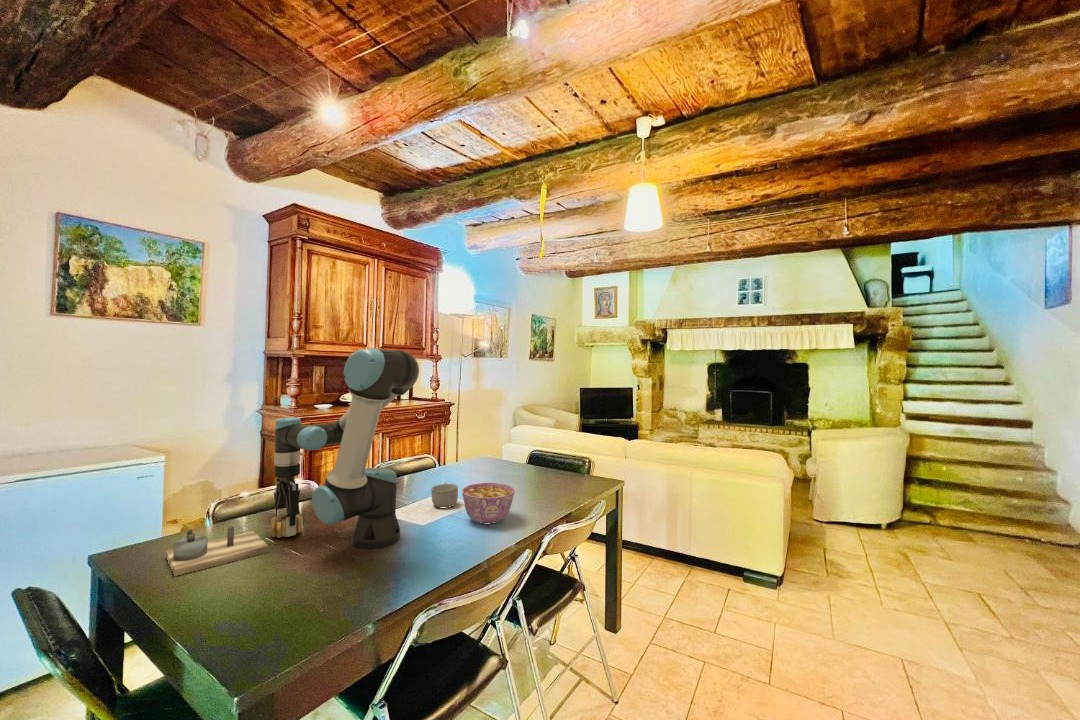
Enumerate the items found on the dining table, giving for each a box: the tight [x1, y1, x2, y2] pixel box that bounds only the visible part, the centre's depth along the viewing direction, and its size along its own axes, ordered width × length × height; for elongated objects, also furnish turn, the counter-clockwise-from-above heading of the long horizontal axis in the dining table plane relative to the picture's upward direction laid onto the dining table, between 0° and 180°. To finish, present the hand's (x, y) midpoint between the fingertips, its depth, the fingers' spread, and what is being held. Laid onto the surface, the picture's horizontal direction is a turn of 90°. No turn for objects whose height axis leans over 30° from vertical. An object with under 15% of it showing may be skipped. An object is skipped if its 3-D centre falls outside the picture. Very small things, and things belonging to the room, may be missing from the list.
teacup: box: [430, 482, 459, 508], centre depth 181 cm, size 14×11×8 cm
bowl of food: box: [461, 482, 516, 523], centre depth 164 cm, size 20×20×12 cm
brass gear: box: [270, 513, 303, 539], centre depth 145 cm, size 9×9×5 cm
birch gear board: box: [165, 525, 269, 577], centre depth 130 cm, size 16×22×8 cm
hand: (286, 531), depth 145 cm, fingers closed on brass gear, 9 cm apart
